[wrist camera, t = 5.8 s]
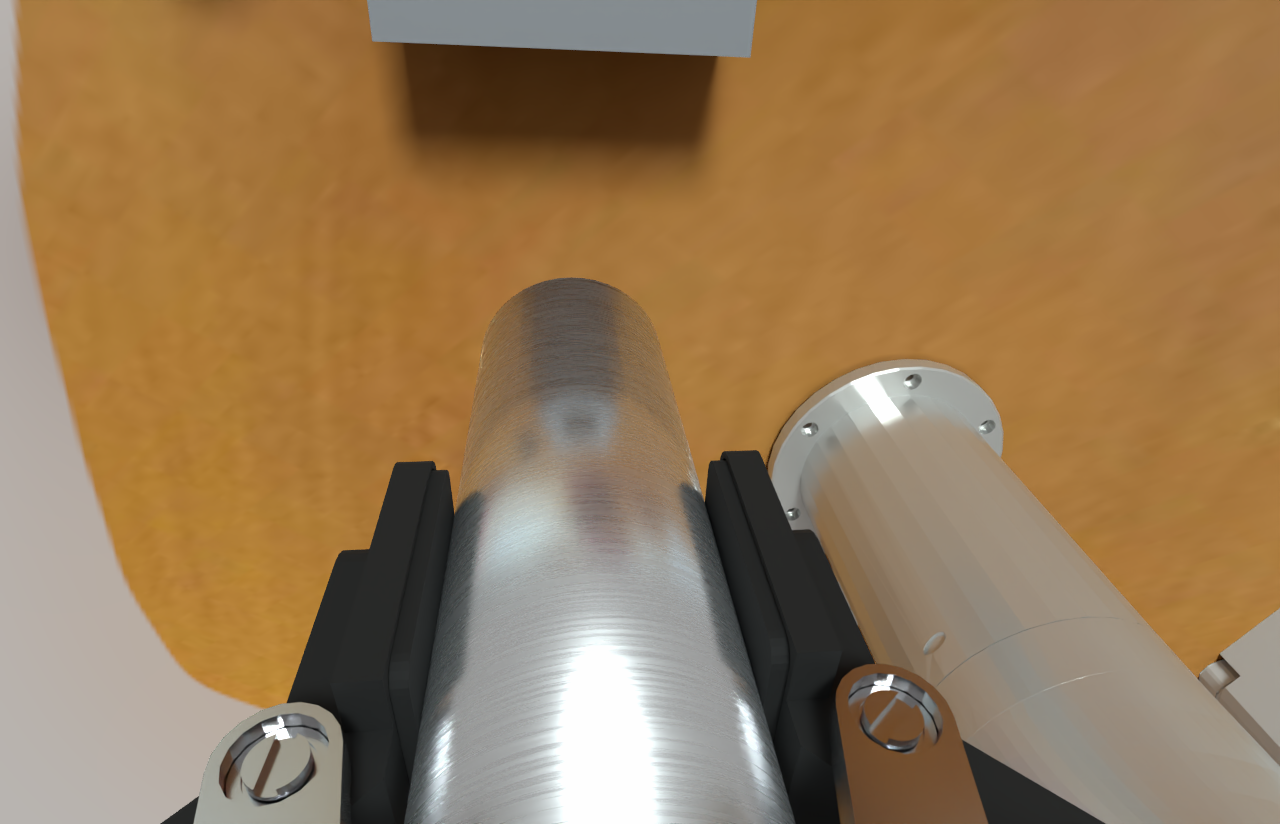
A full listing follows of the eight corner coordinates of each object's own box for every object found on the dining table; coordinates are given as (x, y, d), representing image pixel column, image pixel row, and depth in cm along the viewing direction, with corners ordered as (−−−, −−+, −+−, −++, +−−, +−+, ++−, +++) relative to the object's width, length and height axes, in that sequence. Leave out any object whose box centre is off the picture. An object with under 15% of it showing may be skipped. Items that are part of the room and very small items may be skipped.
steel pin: (656, 433, 18) (798, 1067, 8) (488, 438, 17) (405, 1117, 7) (664, 276, 16) (876, 870, 6) (474, 277, 15) (330, 923, 5)
